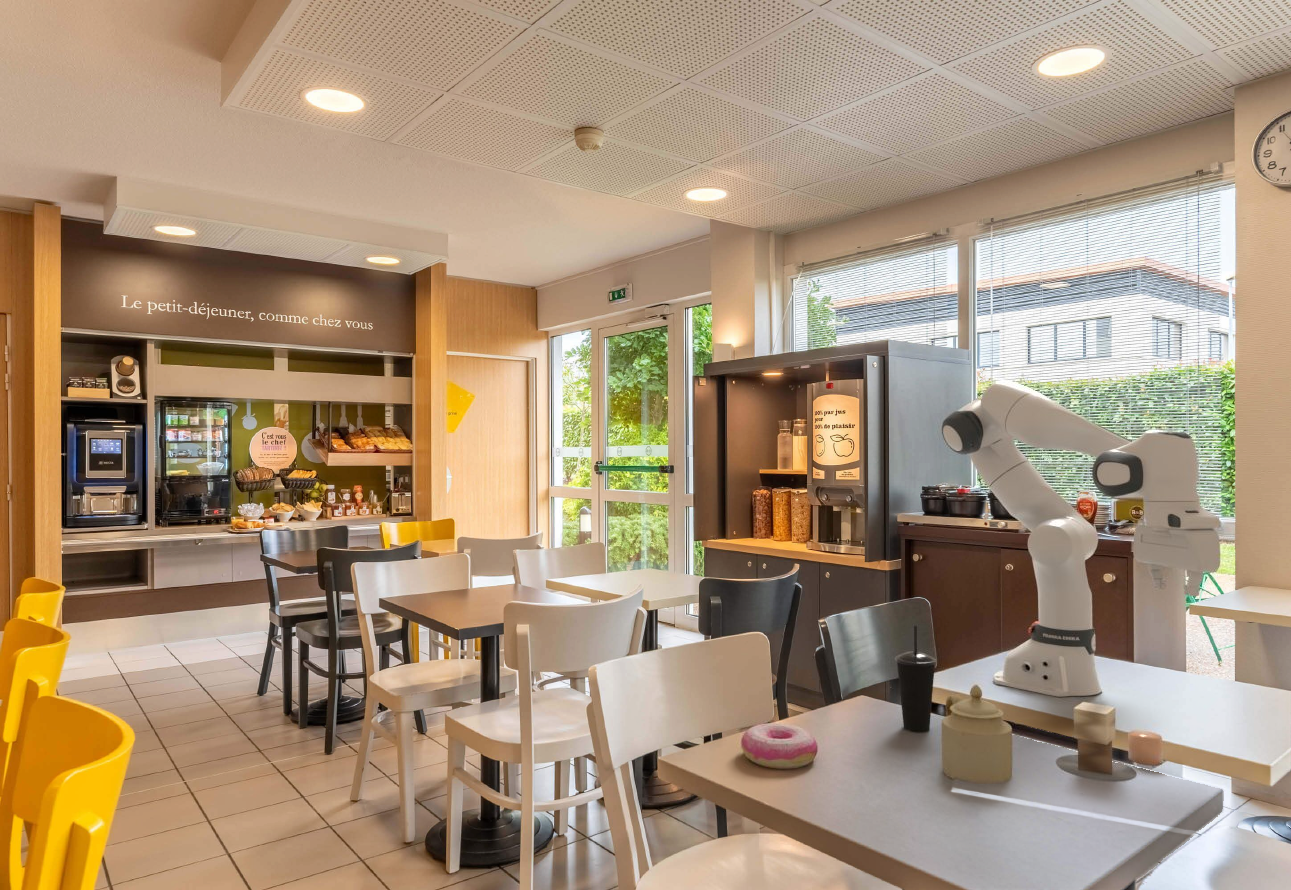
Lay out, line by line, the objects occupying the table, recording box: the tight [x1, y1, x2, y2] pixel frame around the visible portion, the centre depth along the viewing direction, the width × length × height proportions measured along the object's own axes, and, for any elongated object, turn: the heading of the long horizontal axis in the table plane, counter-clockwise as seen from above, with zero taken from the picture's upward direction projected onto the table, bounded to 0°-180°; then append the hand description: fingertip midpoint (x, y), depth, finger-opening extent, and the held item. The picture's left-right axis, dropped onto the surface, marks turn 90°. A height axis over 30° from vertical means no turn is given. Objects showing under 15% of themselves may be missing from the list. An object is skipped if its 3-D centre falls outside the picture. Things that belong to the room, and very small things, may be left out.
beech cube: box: [1073, 701, 1116, 745], centre depth 140 cm, size 5×5×5 cm
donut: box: [740, 722, 819, 770], centre depth 147 cm, size 14×13×5 cm
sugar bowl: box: [941, 684, 1013, 784], centre depth 141 cm, size 15×11×15 cm
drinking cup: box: [894, 625, 937, 733], centre depth 163 cm, size 8×8×20 cm
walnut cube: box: [1077, 739, 1113, 775], centre depth 140 cm, size 5×5×5 cm
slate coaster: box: [1055, 754, 1138, 782], centre depth 140 cm, size 12×12×1 cm
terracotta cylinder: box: [1127, 729, 1163, 767], centre depth 143 cm, size 5×5×5 cm
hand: (1175, 591), depth 153 cm, fingers open, 8 cm apart
